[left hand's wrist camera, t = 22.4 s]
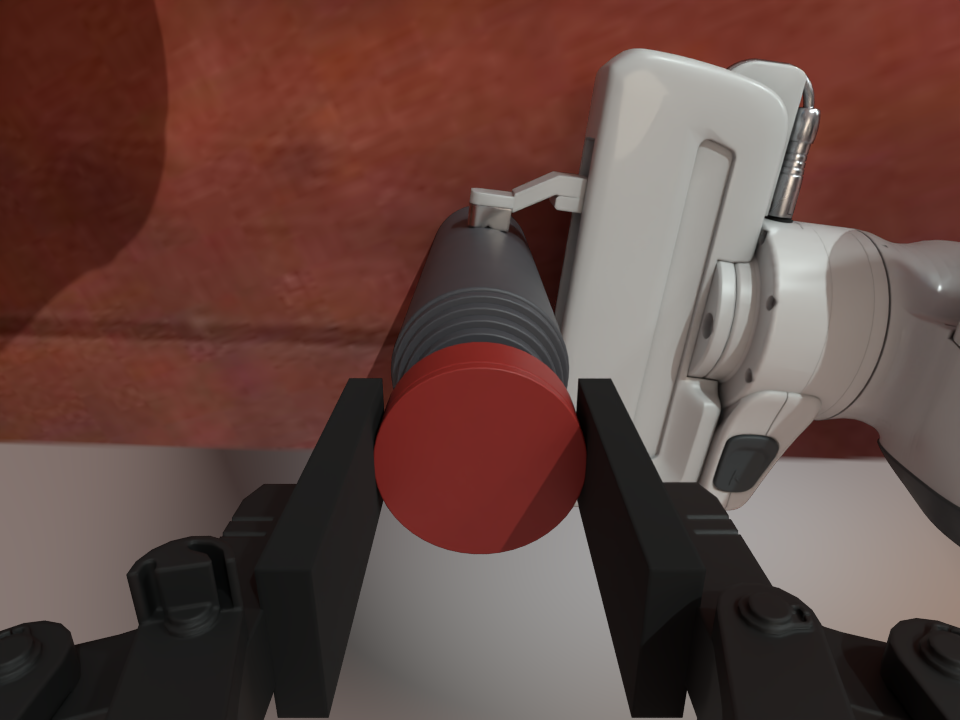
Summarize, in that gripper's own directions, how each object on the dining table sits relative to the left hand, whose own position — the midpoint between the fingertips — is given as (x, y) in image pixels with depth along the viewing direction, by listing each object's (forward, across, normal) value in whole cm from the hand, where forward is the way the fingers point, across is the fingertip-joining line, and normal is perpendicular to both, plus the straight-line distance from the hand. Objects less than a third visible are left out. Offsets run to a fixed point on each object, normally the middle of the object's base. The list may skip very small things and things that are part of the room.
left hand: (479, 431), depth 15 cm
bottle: (+21, 0, 0) cm, 21 cm away
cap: (-1, 0, 0) cm, 1 cm away
